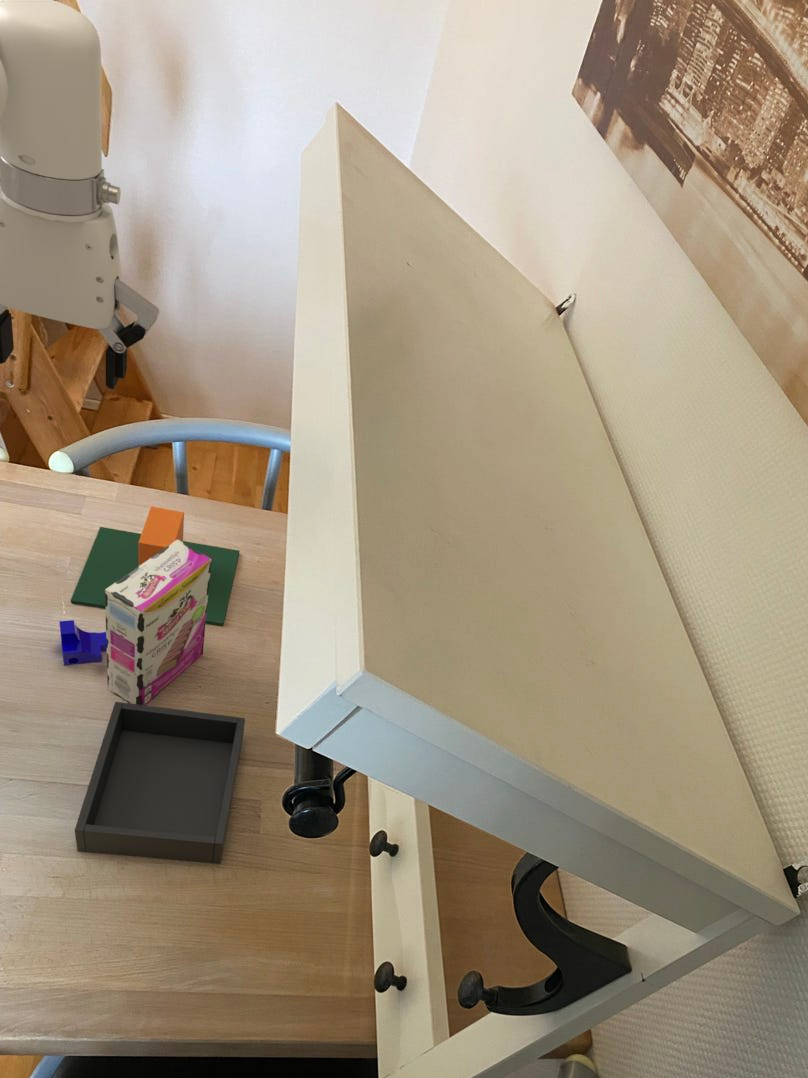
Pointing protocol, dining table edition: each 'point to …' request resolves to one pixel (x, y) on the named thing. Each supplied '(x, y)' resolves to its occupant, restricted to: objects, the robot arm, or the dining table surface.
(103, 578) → the mat
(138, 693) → the candy bar box
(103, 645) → the cable holder
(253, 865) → the dining table surface
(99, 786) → the bin
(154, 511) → the orange block
